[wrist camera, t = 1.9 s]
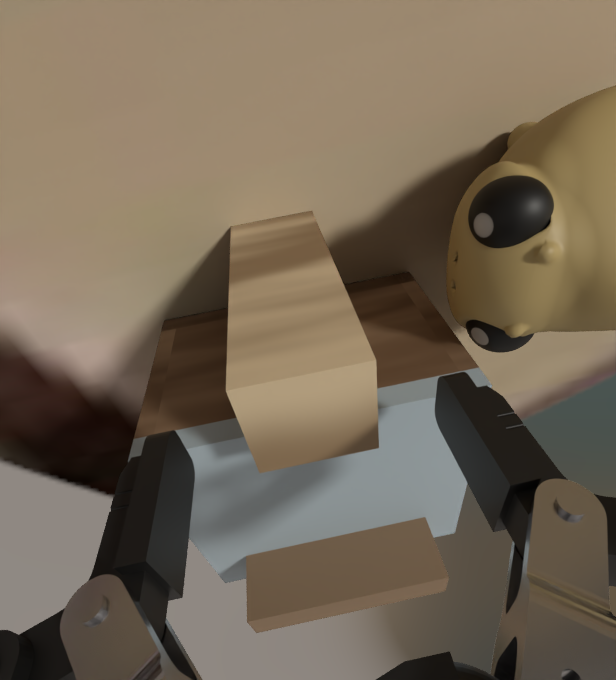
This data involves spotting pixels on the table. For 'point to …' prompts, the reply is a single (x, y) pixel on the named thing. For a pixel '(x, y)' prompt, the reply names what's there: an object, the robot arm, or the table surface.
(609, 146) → the tan toy creature
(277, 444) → the tan tall block
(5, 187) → the table surface
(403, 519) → the lid
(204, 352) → the chest
